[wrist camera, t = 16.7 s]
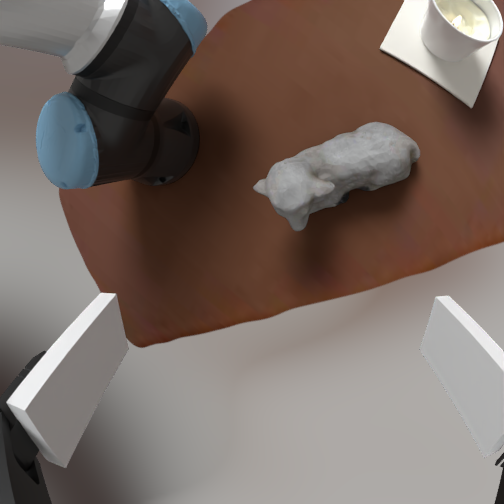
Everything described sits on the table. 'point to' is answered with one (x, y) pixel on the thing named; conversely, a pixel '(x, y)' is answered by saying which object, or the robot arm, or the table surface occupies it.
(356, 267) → the table surface
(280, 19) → the table surface
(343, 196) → the sculpture
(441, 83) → the tile
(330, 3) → the table surface
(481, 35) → the candle holder
